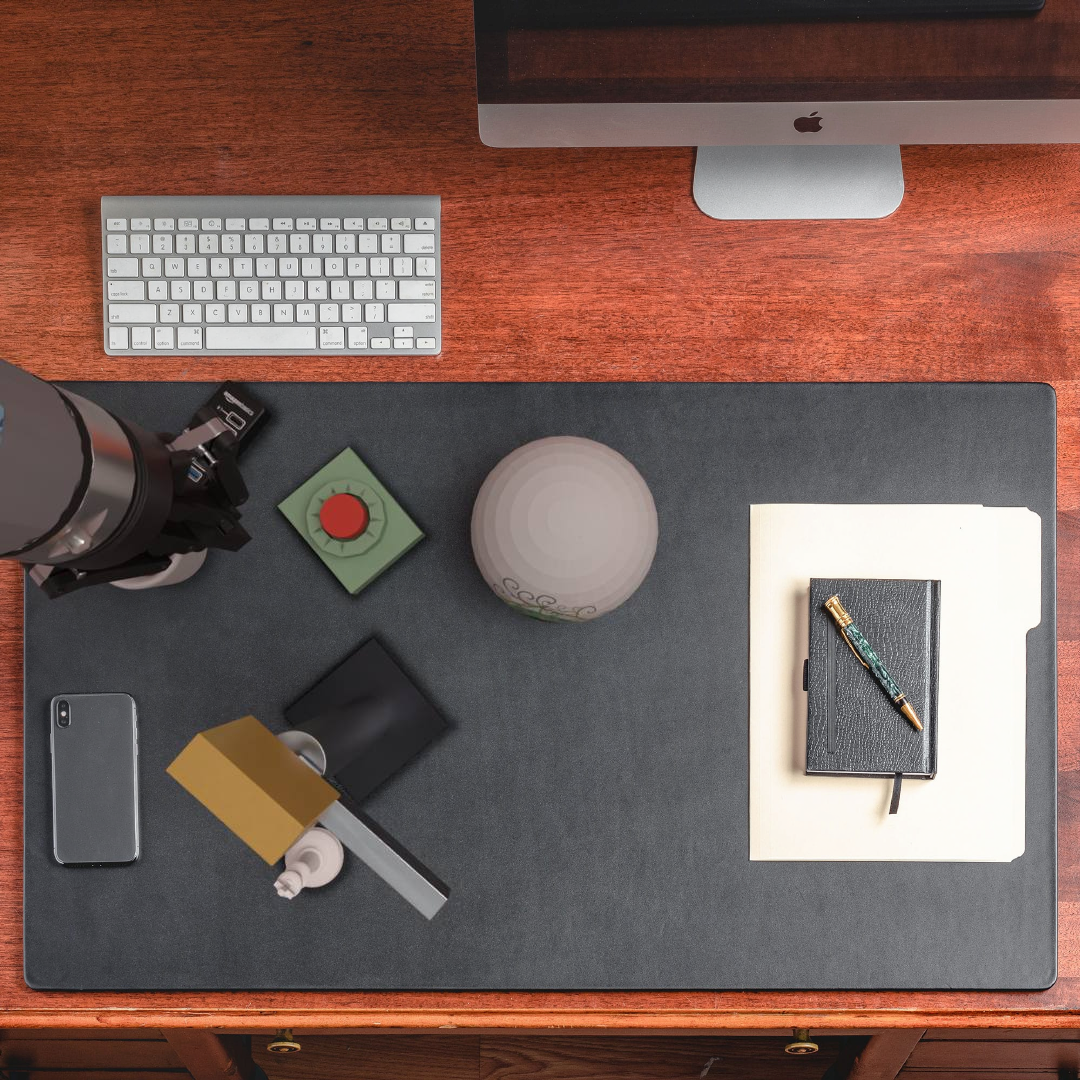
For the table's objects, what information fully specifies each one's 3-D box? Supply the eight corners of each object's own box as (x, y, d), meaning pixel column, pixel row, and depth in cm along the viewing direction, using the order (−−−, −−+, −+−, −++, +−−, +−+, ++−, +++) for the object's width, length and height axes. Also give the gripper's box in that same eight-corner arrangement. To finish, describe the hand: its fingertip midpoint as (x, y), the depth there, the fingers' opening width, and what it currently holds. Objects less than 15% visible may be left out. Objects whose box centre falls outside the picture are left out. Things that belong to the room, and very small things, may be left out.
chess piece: (311, 815, 76) (277, 845, 66) (355, 852, 76) (327, 887, 66) (274, 860, 76) (234, 897, 66) (318, 898, 76) (284, 940, 66)
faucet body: (288, 711, 77) (175, 755, 53) (376, 636, 77) (304, 645, 54) (361, 800, 76) (280, 885, 52) (449, 724, 77) (410, 773, 53)
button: (316, 515, 75) (311, 513, 73) (349, 488, 75) (344, 485, 73) (343, 547, 75) (338, 546, 73) (376, 520, 75) (372, 517, 73)
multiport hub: (157, 479, 79) (146, 475, 76) (236, 384, 79) (227, 377, 77) (195, 509, 78) (185, 506, 76) (274, 414, 79) (266, 408, 77)
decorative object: (448, 579, 78) (427, 570, 63) (520, 427, 79) (517, 383, 64) (603, 651, 77) (619, 659, 62) (673, 497, 79) (705, 469, 64)
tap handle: (235, 741, 53) (164, 770, 43) (261, 710, 53) (198, 732, 43) (429, 915, 52) (404, 986, 42) (456, 883, 52) (437, 946, 42)
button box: (284, 509, 78) (270, 503, 74) (353, 451, 79) (344, 442, 75) (356, 594, 78) (346, 593, 74) (425, 535, 78) (419, 531, 74)
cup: (85, 550, 78) (34, 543, 70) (130, 472, 79) (84, 455, 71) (191, 607, 78) (151, 607, 70) (236, 528, 78) (202, 518, 70)
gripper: (-9, 643, 38) (194, 632, 62) (226, 447, 39) (337, 510, 62) (-118, 513, 38) (125, 551, 62) (118, 322, 39) (269, 431, 63)
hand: (232, 531), depth 62 cm, fingers closed
